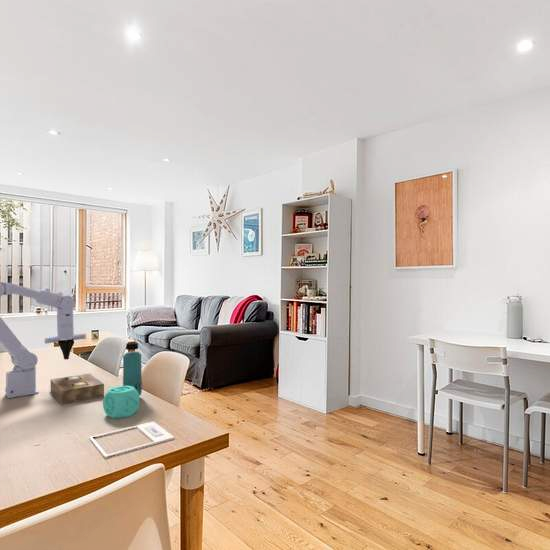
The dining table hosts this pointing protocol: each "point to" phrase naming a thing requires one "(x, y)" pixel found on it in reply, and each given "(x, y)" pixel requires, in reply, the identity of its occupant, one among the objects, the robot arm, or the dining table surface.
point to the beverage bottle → (132, 368)
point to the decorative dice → (121, 401)
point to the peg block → (76, 388)
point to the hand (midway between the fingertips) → (66, 359)
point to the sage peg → (73, 378)
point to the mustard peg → (79, 384)
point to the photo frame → (148, 429)
